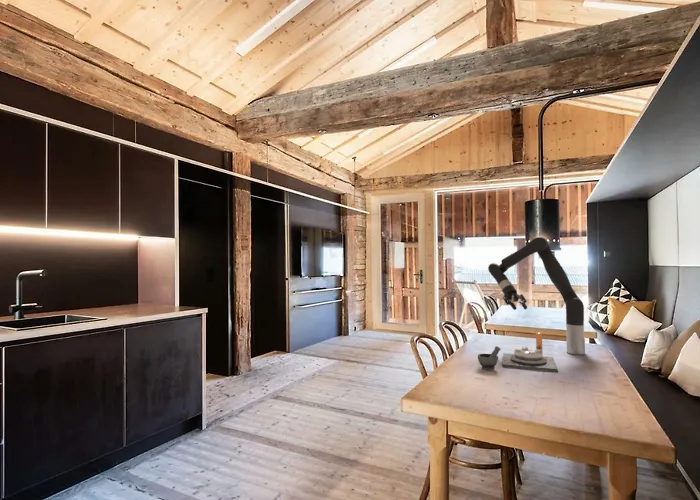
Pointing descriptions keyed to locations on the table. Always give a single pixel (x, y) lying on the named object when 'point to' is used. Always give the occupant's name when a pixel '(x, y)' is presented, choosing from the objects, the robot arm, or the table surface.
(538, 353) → the grey disc with handle
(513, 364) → the base plate
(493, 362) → the mortar and pestle
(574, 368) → the table surface
